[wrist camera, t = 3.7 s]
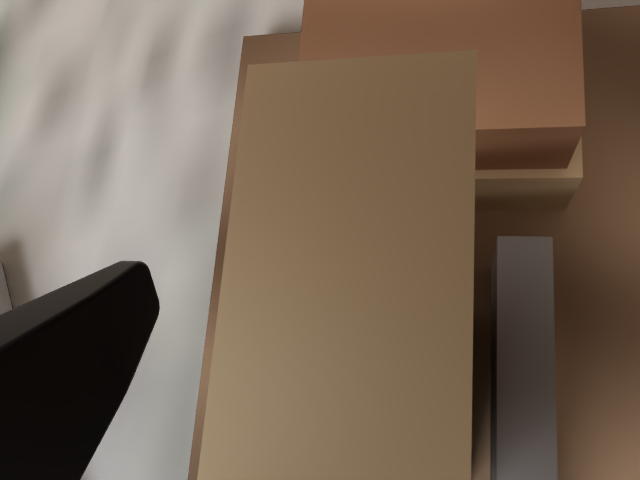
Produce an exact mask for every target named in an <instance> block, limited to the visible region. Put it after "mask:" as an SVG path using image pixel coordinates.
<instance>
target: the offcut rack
mask: <svg viewBox="0 0 640 480" xmlns="http://www.w3.org/2000/svg"><path fill="white" fill-rule="evenodd" d="M581 16H582V43H583V70H584V96H585V123H586V126H585V129H584V131H583V133H582V136H581V137H582V165H583V178H582V180H581V182H580V184H579V186H578V188H577V190H576V192H575V194H574V195H573V197H572V199H571V201H570V203H569V205H568V207H567V209H566V210H475V223H474V298H473V373H472V448H471V480H640V5H638V6H625V7H612V8H600V9H587V10H581ZM300 38H301V32H294V33H282V34H269V35H256V36H244V38H243V45H242V53H241V61H240V69H239V77H238V85H237V93H236V101H235V109H234V117H233V125H232V133H231V141H230V149H229V157H228V165H227V172H226V180H225V188H224V196H223V204H222V212H221V220H220V228H219V236H218V244H217V252H216V260H215V268H214V276H213V284H212V291H211V299H210V307H209V315H208V323H207V331H206V339H205V347H204V355H203V363H202V371H201V379H200V387H199V395H198V403H197V410H196V418H195V426H194V434H193V442H192V450H191V458H190V466H189V474H188V480H197V476H198V468H199V460H200V452H201V444H202V435H203V427H204V419H205V411H206V403H207V395H208V386H209V378H210V370H211V362H212V354H213V346H214V337H215V329H216V321H217V313H218V305H219V296H220V288H221V280H222V272H223V264H224V256H225V247H226V239H227V231H228V223H229V215H230V207H231V198H232V190H233V182H234V174H235V166H236V158H237V149H238V141H239V133H240V125H241V117H242V108H243V100H244V92H245V84H246V76H247V68H248V65H251V64H267V63H282V62H297V61H298V59H299V48H300Z"/></svg>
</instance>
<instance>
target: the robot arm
mask: <svg viewBox="0 0 640 480" xmlns="http://www.w3.org/2000/svg"><path fill="white" fill-rule="evenodd" d="M159 308H160V306H159V299H158V296H157V293H156V290H155V286H154V283H153V280H152V277H151V273H150V270H149V268H148V266H147V265H146V264H145V263H143V262H141V261H120V262H117V263H115V264H113V265H111V266H108V267H106V268H104V269H102V270H99V271H97V272H95V273H93V274H90V275H88V276H86V277H84V278H81V279H79V280H77V281H75V282H72V283H70V284H68V285H66V286H63V287H61V288H59V289H57V290H54V291H52V292H50V293H48V294H46V295H43V296H41V297H39V298H37V299H34V300H32V301H30V302H28V303H25V304H23V305H21V306H19V307H16V308H14V309H12V310H10V311H7V312H5V313H3V314H1V315H0V480H80V479H81V477H82V475H83V474H84V472H85V470H86V468H87V466H88V464H89V462H90V460H91V459H92V457H93V455H94V453H95V451H96V449H97V447H98V446H99V444H100V442H101V440H102V438H103V436H104V434H105V432H106V431H107V429H108V427H109V425H110V423H111V421H112V419H113V417H114V416H115V414H116V412H117V410H118V408H119V406H120V404H121V402H122V400H123V398H124V396H125V394H126V393H127V390H128V388H129V386H130V384H131V381H132V379H133V377H134V374H135V372H136V369H137V367H138V364H139V362H140V360H141V357H142V355H143V352H144V350H145V347H146V345H147V342H148V340H149V337H150V335H151V333H152V330H153V328H154V325H155V323H156V320H157V318H158V315H159Z"/></svg>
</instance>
